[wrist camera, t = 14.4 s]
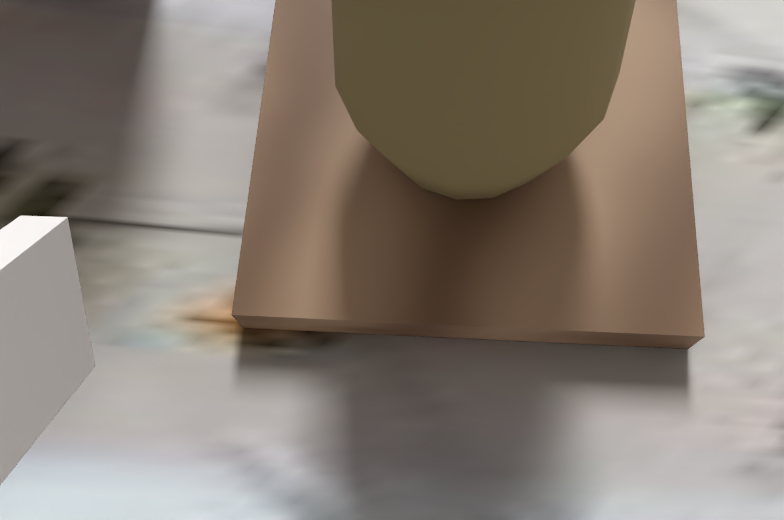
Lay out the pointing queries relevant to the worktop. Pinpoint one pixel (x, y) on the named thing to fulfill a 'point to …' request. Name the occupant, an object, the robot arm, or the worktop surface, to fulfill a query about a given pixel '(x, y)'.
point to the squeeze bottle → (477, 84)
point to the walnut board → (472, 216)
